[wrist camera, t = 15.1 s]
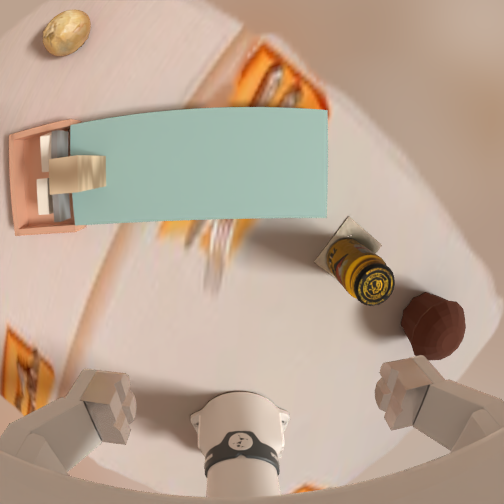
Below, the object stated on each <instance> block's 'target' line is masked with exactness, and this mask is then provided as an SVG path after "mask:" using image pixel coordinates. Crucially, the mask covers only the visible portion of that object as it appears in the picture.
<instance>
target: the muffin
mask: <svg viewBox="0 0 504 504" xmlns="http://www.w3.org/2000/svg"><path fill="white" fill-rule="evenodd" d="M401 326H402V327H403V329H404V331H405V334H406V335H407V337H408V339H409V341H410V343H411V345H412V348H413V351H414V355H415V356H419V355H422V356H425V357H426V359H427V360H441V359H443V358H445V357H447V356H449V355H451V354H452V353H453V352H454V351H455V350H456V349H457V348H458V347H459V345H460V343H461V342H462V340H463V337H464V333H465V329H466V325H465V317H464V311H463V308H462V307H461V306H460V305H459V304H458V303H457V302H454V301H448V300H446V299H443V298H441V297H439V296H436V295H432V294H429V293H427V292H425V293H423V294H421V295H420V296H417V297H414V298H413V299H412V300H411V302H410V303H409V305H408V306H407V307H406V308H405V309H404V310H403V318H402V321H401Z"/></svg>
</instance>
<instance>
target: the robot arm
mask: <svg viewBox="0 0 504 504" xmlns="http://www.w3.org/2000/svg"><path fill="white" fill-rule="evenodd" d="M379 373H380V375H381V376H382V378H381V379H380V380H379V381H378V382H377V384H376V388H375V400H376V403H377V405H378V407H379V409H381V410H383V411H385V412H386V413H385V416H384V418H385V420H386V422H387V424H388V426H389V427H390V429H391V431H392V430H396V429H400V428H404V427H408V426H412V425H413V427H415V428H416V429H418V430H419V431H421V432H423V433H424V434H425V435H427V436H428V437H430V438H432V439H433V440H435V441H437V442H438V443H439V444H441V445H442V446H444V447H446V448H447V449H449V450H450V453H449V454H447V455H444V456H442V457H440V458H437V459H434V460H431V461H429V462H426V463H423V464H420V465H418V466H415V467H412V468H409V469H406V470H403V471H399V472H396V473H393V474H389V475H386V476H382V477H379V478H375V479H371V480H367V481H363V482H358V483H354V484H350V485H345V486H340V487H334V488H329V489H323V490H317V491H310V492H303V493H295V494H286V495H281V492H280V487H279V482H278V475H279V467H280V465H279V460H278V459H281V458H282V451H283V450H284V436H283V434H284V432H285V429H286V427H287V424H288V422H289V419H290V414H289V413H288V412H287V411H285V410H282V409H279V408H277V407H276V406H275V405H274V404H273V403H272V402H271V401H270V400H268V399H267V398H265V397H263V396H261V395H258V394H254V393H249V392H232V393H226V394H223V395H220V396H218V397H216V398H214V399H212V400H211V401H209V402H208V403H207V404H206V406H205V407H204V408H203V409H202V410H200V411H198V412H196V413H194V414H192V415H191V423H192V425H193V427H194V429H195V431H196V433H197V435H198V448H199V449H200V450H201V452H202V454H203V455H204V456H205V464H204V469H205V475H206V477H207V491H206V497H192V496H178V495H167V494H158V493H150V492H142V491H136V490H130V489H125V488H118V487H114V486H109V485H104V484H100V483H95V482H91V481H87V480H83V479H79V478H75V477H72V476H70V475H69V474H68V471H69V470H70V469H72V468H73V467H74V466H75V465H76V464H78V463H79V462H80V461H81V460H82V459H84V458H85V457H86V456H87V455H88V454H90V453H91V452H92V451H93V450H94V449H95V448H97V447H98V446H99V445H100V444H101V443H102V442H109V443H116V444H124V445H126V443H127V440H128V437H129V434H130V431H131V429H130V427H129V424H130V423H131V422H133V421H134V419H135V416H136V407H137V405H136V399H135V395H134V393H133V392H132V391H131V390H130V389H129V387H130V385H131V382H130V378H129V375H127V374H126V373H118V372H109V371H102V370H93V369H84V370H83V371H82V372H81V374H80V375H79V377H78V378H77V380H76V381H75V383H74V385H73V386H72V388H71V389H70V391H69V393H68V394H67V396H66V397H65V398H63V397H61V398H59V399H57V400H55V401H53V402H51V403H49V404H48V405H46V406H44V407H42V408H40V409H38V410H36V411H34V412H32V413H30V414H28V415H26V416H24V417H22V418H20V419H18V420H16V421H14V422H12V423H10V424H9V425H8V426H7V428H6V430H5V431H4V432H3V434H2V435H1V437H0V504H504V401H503V400H502V399H500V398H497V397H494V396H491V395H489V394H486V393H483V392H481V391H478V390H475V389H473V388H470V387H467V386H464V385H462V384H459V383H457V382H454V381H452V380H445V379H444V378H443V377H442V376H441V374H440V373H439V372H438V371H437V370H436V369H435V368H434V366H433V365H432V364H431V363H430V362H429V361H428V360H427V359H426V357H425V356H422V355H419V356H414V357H410V358H407V359H402V360H397V361H391V362H386V363H383V364H382V366H381V369H380V372H379Z"/></svg>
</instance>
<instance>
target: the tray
mask: <svg viewBox="0 0 504 504" xmlns="http://www.w3.org/2000/svg"><path fill="white" fill-rule="evenodd" d="M78 123H82V121H78V120H73V119H68V120H63V121H59V122H55V123H50V124H46V125H43V126H39V127H35V128H31V129H28V130H24V131H21V132H17V133H14V134H11V135H9V174H10V191H11V203H12V213H13V222H14V229H15V236H21V235H35V234H50V233H67V232H77V231H79V230H81V229H83V228H85V227H86V225H77V226H75V220H74V210H73V198H72V193H69V201H70V215H71V218H69V219H66V220H64V221H61V222H54V213H52V214H47V215H39V213H38V199H37V179H42V178H49V172H42V165H41V147H40V136H43V135H45V134H47V133H50V132H52V131H55V130H64V131H68V132H69V133H68V156H70V125H73V124H78Z"/></svg>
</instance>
